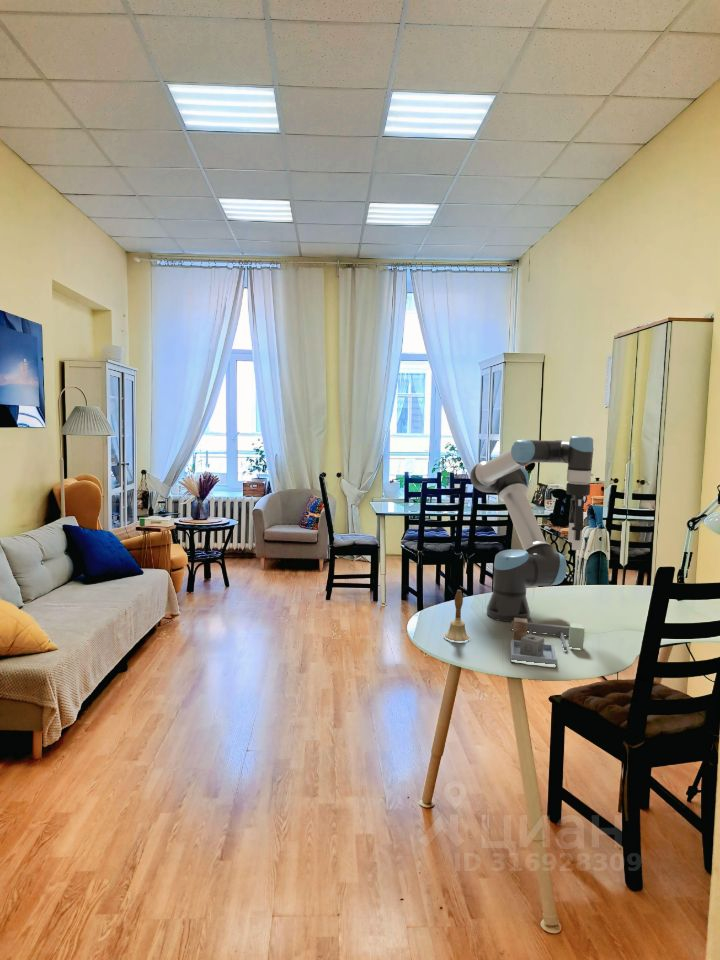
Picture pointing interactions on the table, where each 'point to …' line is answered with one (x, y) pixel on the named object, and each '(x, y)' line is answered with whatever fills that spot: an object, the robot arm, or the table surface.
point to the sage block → (576, 635)
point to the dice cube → (532, 645)
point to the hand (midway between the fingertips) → (574, 545)
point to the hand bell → (457, 622)
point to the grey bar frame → (547, 630)
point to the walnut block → (519, 628)
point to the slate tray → (546, 658)
